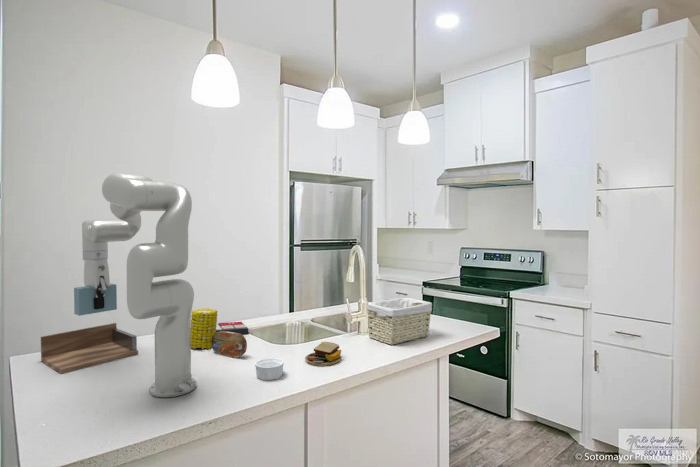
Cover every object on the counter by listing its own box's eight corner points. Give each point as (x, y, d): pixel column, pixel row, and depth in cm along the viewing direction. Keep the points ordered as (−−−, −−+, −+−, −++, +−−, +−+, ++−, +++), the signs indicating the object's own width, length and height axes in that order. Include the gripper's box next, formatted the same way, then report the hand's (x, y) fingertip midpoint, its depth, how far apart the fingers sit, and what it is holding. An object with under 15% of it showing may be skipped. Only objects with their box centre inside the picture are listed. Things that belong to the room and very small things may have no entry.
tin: (210, 353, 152) (210, 330, 152) (217, 350, 155) (217, 328, 155) (242, 360, 145) (242, 336, 145) (248, 357, 148) (248, 333, 148)
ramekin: (253, 372, 134) (253, 359, 134) (280, 369, 137) (280, 356, 137) (257, 383, 126) (257, 369, 125) (286, 379, 129) (286, 365, 129)
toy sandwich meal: (297, 362, 144) (297, 348, 144) (322, 351, 155) (322, 339, 155) (325, 370, 137) (325, 355, 137) (349, 358, 148) (350, 345, 148)
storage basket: (405, 328, 187) (406, 295, 187) (433, 337, 175) (434, 302, 174) (364, 338, 173) (365, 302, 172) (392, 348, 160) (392, 309, 159)
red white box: (248, 326, 176) (211, 329, 169) (248, 336, 177) (211, 339, 169) (242, 320, 186) (207, 322, 179) (241, 330, 186) (206, 332, 179)
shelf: (138, 354, 150) (137, 330, 150) (60, 374, 131) (60, 347, 131) (115, 344, 161) (115, 322, 161) (41, 361, 142) (40, 336, 142)
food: (184, 351, 159) (209, 346, 166) (200, 351, 151) (225, 345, 159) (181, 310, 161) (205, 308, 168) (197, 308, 153) (221, 305, 161)
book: (116, 309, 150) (116, 284, 149) (79, 315, 140) (78, 289, 140) (111, 307, 152) (111, 283, 152) (74, 313, 143) (73, 287, 142)
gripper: (117, 256, 143) (118, 309, 144) (96, 253, 153) (97, 302, 154) (93, 258, 137) (94, 313, 138) (73, 254, 147) (74, 306, 148)
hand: (96, 307), depth 146 cm, fingers closed on book, 4 cm apart
